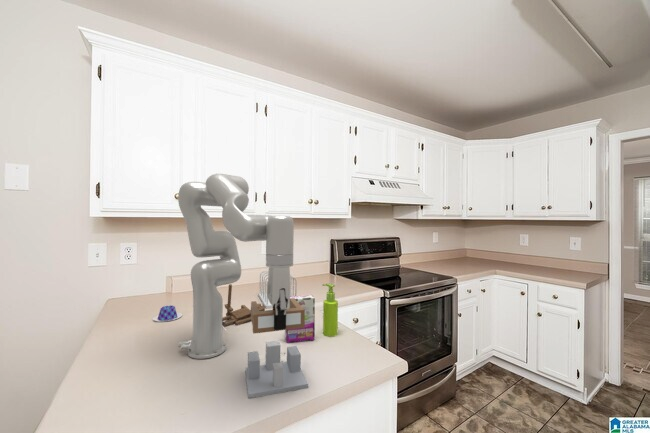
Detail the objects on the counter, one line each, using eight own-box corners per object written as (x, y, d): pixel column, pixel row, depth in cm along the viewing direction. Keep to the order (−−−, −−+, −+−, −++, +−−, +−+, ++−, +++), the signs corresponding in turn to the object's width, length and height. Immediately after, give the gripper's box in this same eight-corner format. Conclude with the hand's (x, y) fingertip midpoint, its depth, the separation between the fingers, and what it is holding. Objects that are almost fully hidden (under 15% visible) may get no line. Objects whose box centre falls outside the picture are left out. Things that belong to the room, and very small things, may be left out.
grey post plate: (248, 398, 73) (248, 367, 73) (245, 370, 86) (245, 344, 86) (308, 387, 78) (308, 358, 78) (296, 362, 91) (297, 338, 91)
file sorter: (258, 296, 170) (258, 270, 170) (286, 294, 176) (286, 269, 176) (265, 309, 146) (265, 278, 146) (297, 305, 153) (298, 276, 153)
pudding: (177, 322, 127) (177, 310, 127) (147, 323, 125) (148, 311, 125) (185, 313, 138) (185, 302, 138) (159, 314, 136) (159, 303, 136)
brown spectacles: (253, 333, 75) (253, 314, 75) (250, 317, 87) (250, 301, 87) (304, 328, 79) (304, 310, 79) (294, 313, 91) (295, 298, 91)
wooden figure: (210, 286, 122) (259, 273, 140) (209, 322, 126) (257, 305, 144) (227, 301, 113) (277, 285, 131) (224, 340, 116) (274, 319, 135)
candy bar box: (312, 335, 113) (312, 294, 114) (314, 340, 109) (315, 297, 109) (284, 338, 110) (284, 296, 111) (285, 343, 106) (286, 299, 106)
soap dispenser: (327, 329, 120) (327, 281, 120) (340, 333, 116) (340, 284, 116) (318, 333, 115) (318, 284, 116) (331, 337, 111) (332, 286, 111)
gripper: (262, 257, 85) (261, 318, 85) (269, 265, 69) (269, 340, 69) (287, 256, 87) (286, 316, 87) (299, 264, 72) (298, 336, 72)
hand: (278, 326), depth 78 cm, fingers closed on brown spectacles, 2 cm apart
